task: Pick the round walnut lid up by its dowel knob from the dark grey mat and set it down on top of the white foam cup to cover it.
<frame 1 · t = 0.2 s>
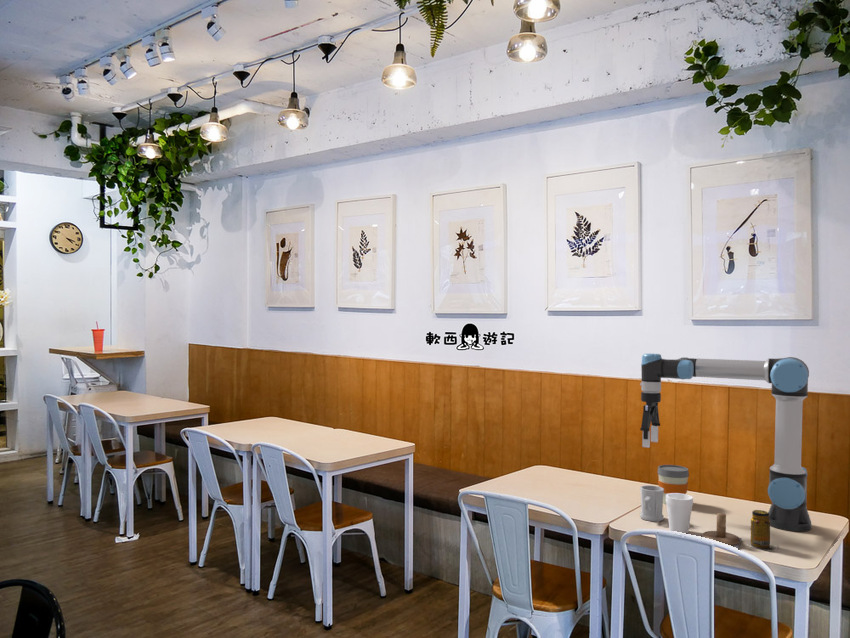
hand: (650, 444, 272), 28 cm above the table, fingers open, 13 cm apart
cup: (652, 519, 264), on the table
foam cup: (678, 531, 249), on the table
mat: (720, 542, 238), on the table
reusable coffee cup: (672, 503, 287), on the table
condiment: (762, 547, 234), on the table
lid: (720, 539, 238), point 1 cm above the table, touching mat
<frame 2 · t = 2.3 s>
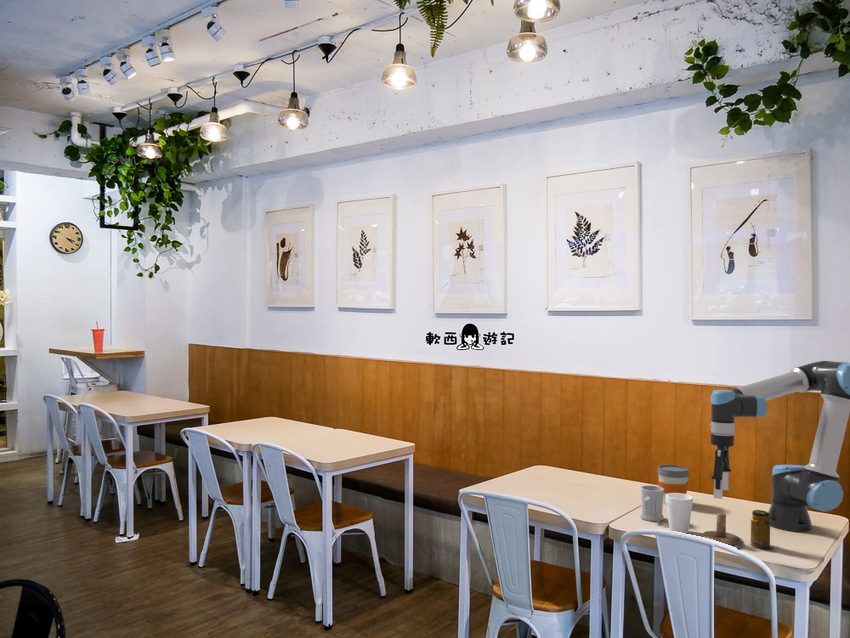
hand: (721, 494, 238), 17 cm above the table, fingers open, 13 cm apart
nothing on the table moved.
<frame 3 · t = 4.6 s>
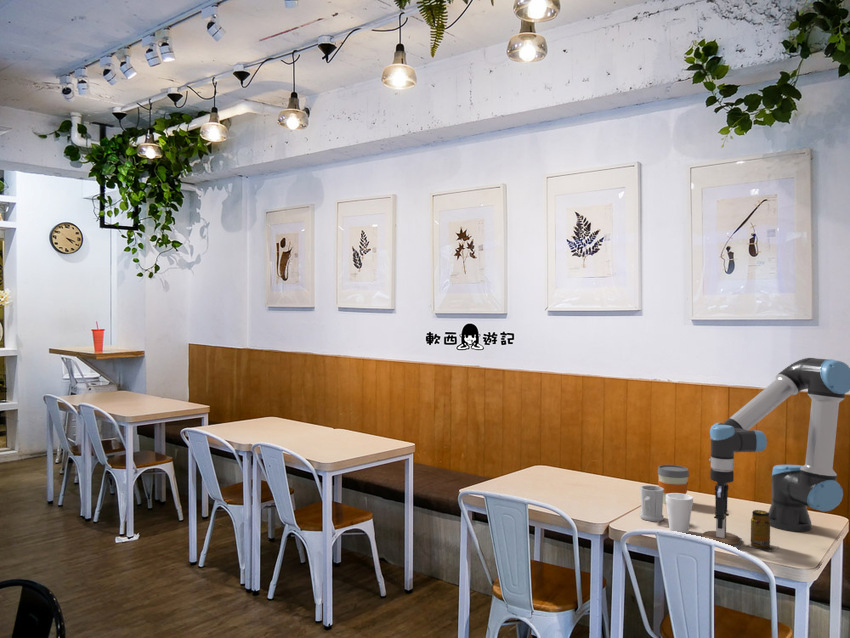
hand: (721, 535, 238), 2 cm above the table, fingers closed on lid, 3 cm apart
lid: (721, 539, 238), point 1 cm above the table, touching gripper
everything else where it was.
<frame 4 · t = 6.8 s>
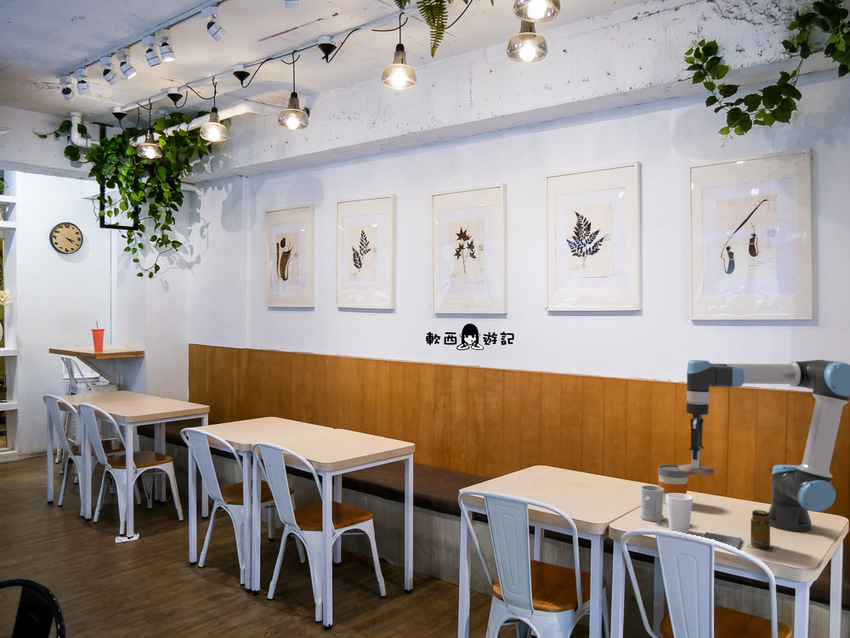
hand: (695, 467, 244), 25 cm above the table, fingers closed on lid, 3 cm apart
lid: (695, 471, 244), point 23 cm above the table, touching gripper
everything else where it was.
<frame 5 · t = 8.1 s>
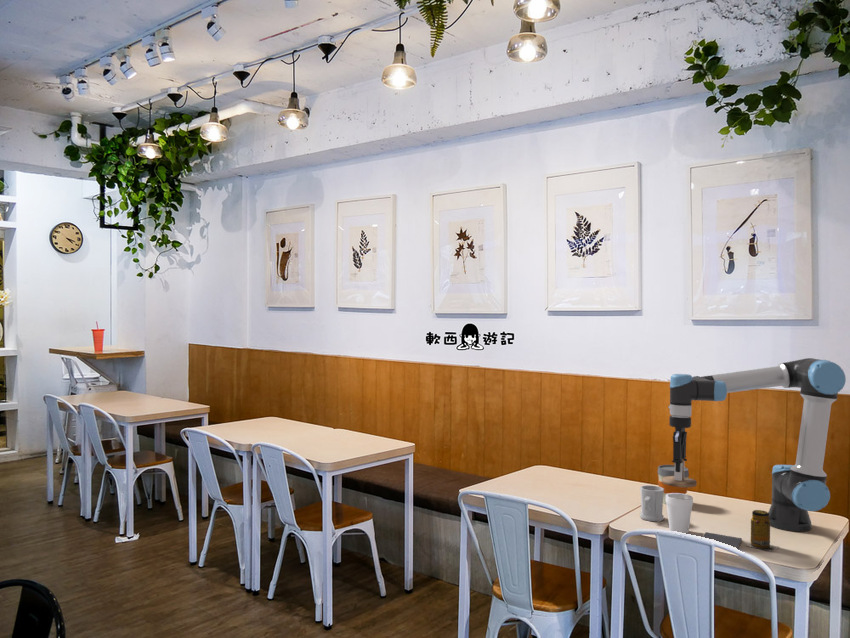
hand: (679, 479, 249), 19 cm above the table, fingers closed on lid, 3 cm apart
lid: (678, 483, 249), point 18 cm above the table, touching gripper
everything else where it was.
when the fingers open (17 cm above the table, at t = 9.1 s): lid drops 3 cm, resting on foam cup.
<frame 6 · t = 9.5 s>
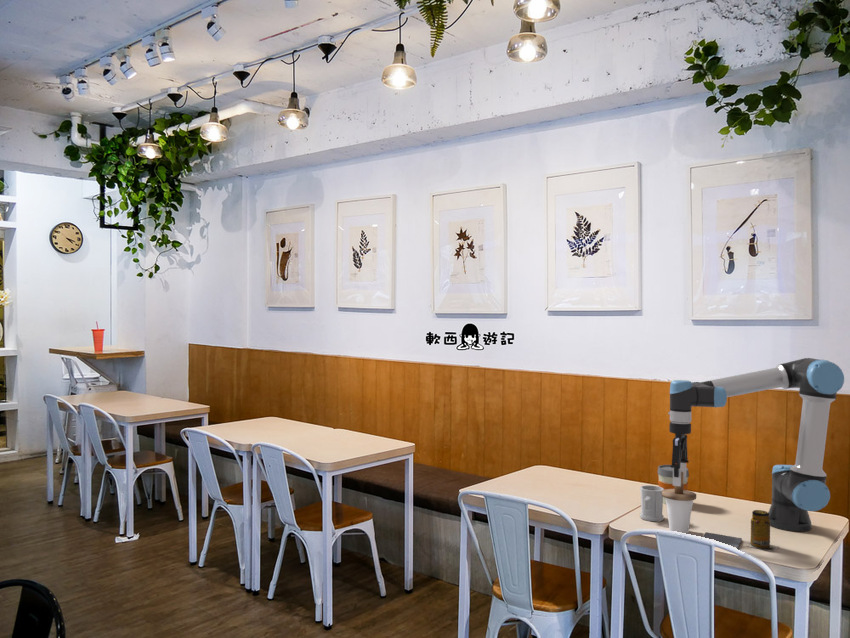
hand: (679, 482, 249), 18 cm above the table, fingers open, 9 cm apart
foam cup: (678, 531, 249), on the table, touching lid
lid: (678, 496, 249), point 13 cm above the table, touching foam cup
everything else where it was.
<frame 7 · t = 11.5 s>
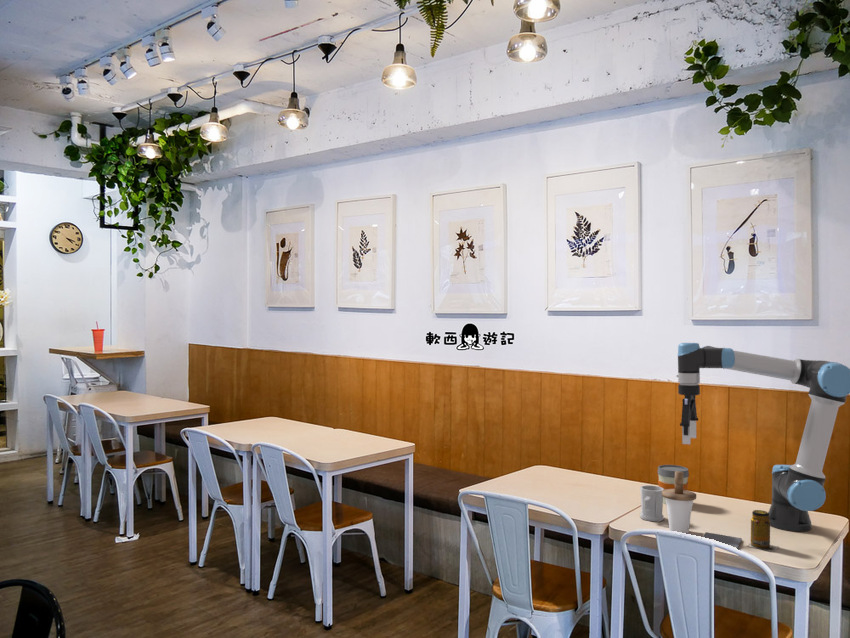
hand: (689, 440, 252), 33 cm above the table, fingers open, 13 cm apart
nothing on the table moved.
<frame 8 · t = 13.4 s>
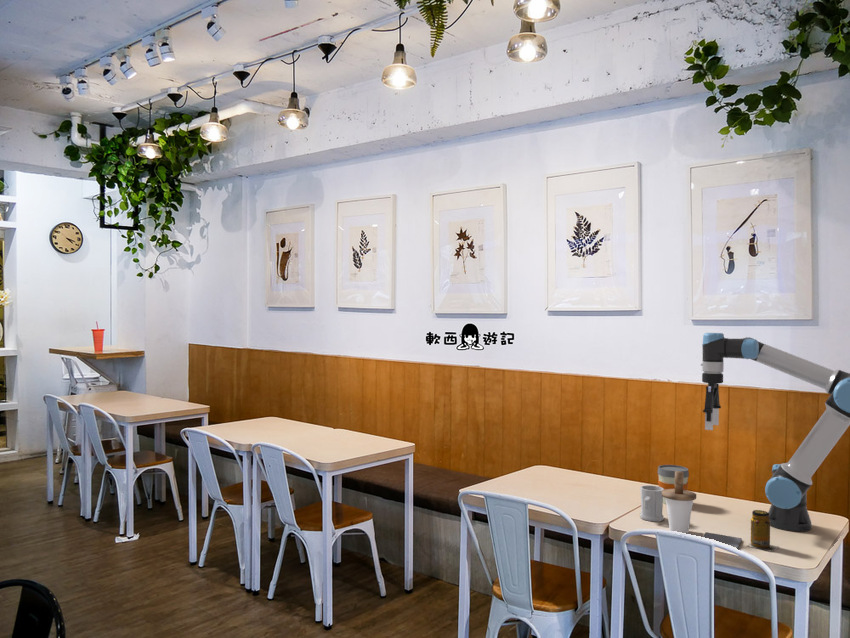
hand: (711, 427, 261), 37 cm above the table, fingers open, 13 cm apart
nothing on the table moved.
at the end: lid 0.2 cm from the foam cup (horizontally); lid point 13.0 cm above the table; the gripper is holding nothing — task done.
